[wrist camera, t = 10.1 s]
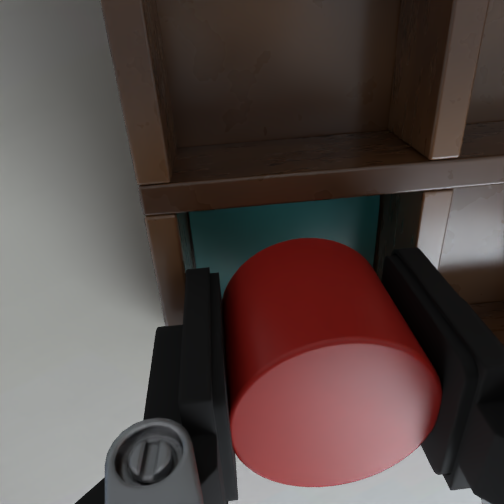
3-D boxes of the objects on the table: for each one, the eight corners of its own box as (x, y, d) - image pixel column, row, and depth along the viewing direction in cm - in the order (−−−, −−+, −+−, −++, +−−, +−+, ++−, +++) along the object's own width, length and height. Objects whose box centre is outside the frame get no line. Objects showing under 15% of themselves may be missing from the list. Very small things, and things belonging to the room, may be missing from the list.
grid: (99, -170, 9) (50, -242, 6) (725, -197, 9) (937, -274, 7) (186, 337, 15) (181, 411, 12) (547, 300, 16) (616, 362, 13)
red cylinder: (212, 244, 10) (216, 353, 7) (386, 228, 10) (464, 327, 7) (227, 372, 12) (235, 500, 9) (372, 356, 12) (427, 476, 9)
